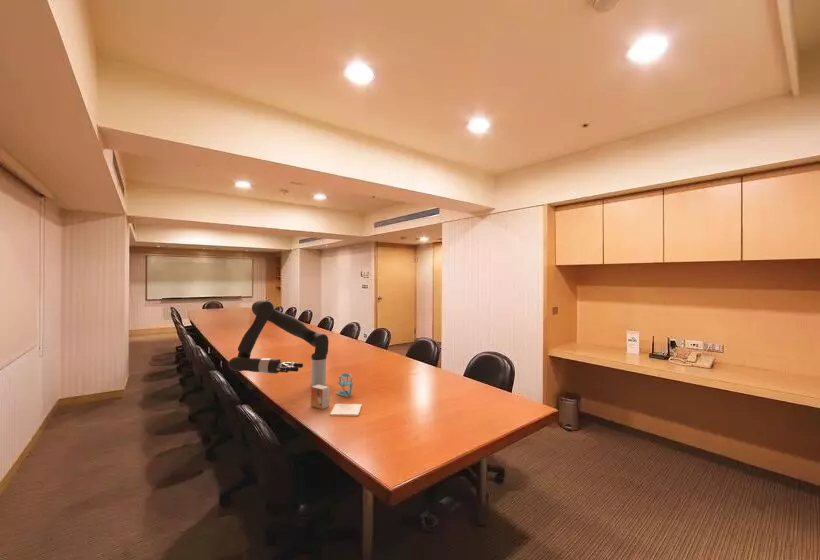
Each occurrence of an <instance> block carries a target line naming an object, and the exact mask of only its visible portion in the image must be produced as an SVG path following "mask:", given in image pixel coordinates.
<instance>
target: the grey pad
mask: <svg viewBox="0 0 820 560" xmlns="http://www.w3.org/2000/svg"><path fill="white" fill-rule="evenodd" d="M362 406H363V404H362V403H359V404H358V403H335V405H334V406H333V408H332V410H331V411H330V413H329V416H333V417H336V416H339V417H341V416H343V417H344V416H345V417H358V416H359V415H360V412H361V409H362Z"/></svg>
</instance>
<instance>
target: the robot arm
mask: <svg viewBox="0 0 820 560" xmlns="http://www.w3.org/2000/svg"><path fill="white" fill-rule="evenodd" d="M274 307H275V306H274V304H273V303H272V302H271V301H269V300H257V301H255V302H253V304H252V305H251V312H252V313H253V314H254V315H255V318H254V320H253V322H252V324H251V326H250V327H249V328H248V329H247V331H246V332H245V333H244V334H243V337H242V338H241V341H240V343H239V345H238V346H237V352H238V353H237V356H235V357H232V358H231V359H230V360H228V368H229V369H230V370H231V371H235V372H253V373H263V374H279V373H286V374H287V373H290V372H296V373H297V372H299V368H300V369H301V368H303V367H304V363H301V362H300V363H299V362H296V361H284V362H281V359H279V358H269V357H267V358H259V357H255V358H253V357H252V358H251V354H252V351H253V349H254V347H255V345H256V342H257V340H258V338H259V336H260V334H261V333H262V331H263V329H264V327H265V325H266V324H267V322H270V323H271V324H274V325H275V326H276V327H278V328H280V329H282V330H283V331H284V332H287V333H289V334H290V335H292V336H295V337H297V338H299V339H301V340H303V341H305V342H306V343H308V344H309V345H311V346H312V347H314V353H312V354H311V356H310V357H311V361H310V362H311V365H310V366H311V367H310V368H311V369H310V387H311V388H312V387H313V386H316V385H318V384H319V385H323V386H326V385H327V383H326V382H327V356H328V353H329V342H330V341H329V337H328V335H327V334H324V333H321V332H318V331H315V330H312V329H310V328H308V327H307V326H306V324H304V323H303V322H302V321H301V320H299V319H298V318H296V317H294V316H292V315H290V314H287V313H285V312H282V311H278V310H277V309H275V308H274Z"/></svg>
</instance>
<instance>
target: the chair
mask: <svg viewBox="0 0 820 560" xmlns="http://www.w3.org/2000/svg"><path fill="white" fill-rule="evenodd" d="M349 377H350V381H349ZM345 378H346V380H345ZM338 379H339V381H338V382H337V384H338V385H339V386H340V387H341V389H342V391H338V392H337V391H336V395H338V396H342V397H345V398H347V397H352V390H353V385H354V383H353V382H352V381H353V375H352V374H350V373H342V374H340V375H339V376H338ZM347 386H349V390H348V389H345V387H347Z"/></svg>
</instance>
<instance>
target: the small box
mask: <svg viewBox="0 0 820 560" xmlns="http://www.w3.org/2000/svg"><path fill="white" fill-rule="evenodd" d="M330 390H331V389H330V386H323V385H319V384H318V385H316V386H313V387H311V390H310V391H311V393H310V394H311V395H310V398H311V399H310V407H313V408H317V409H319V410H324V409H326V408H328V407H330Z"/></svg>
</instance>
